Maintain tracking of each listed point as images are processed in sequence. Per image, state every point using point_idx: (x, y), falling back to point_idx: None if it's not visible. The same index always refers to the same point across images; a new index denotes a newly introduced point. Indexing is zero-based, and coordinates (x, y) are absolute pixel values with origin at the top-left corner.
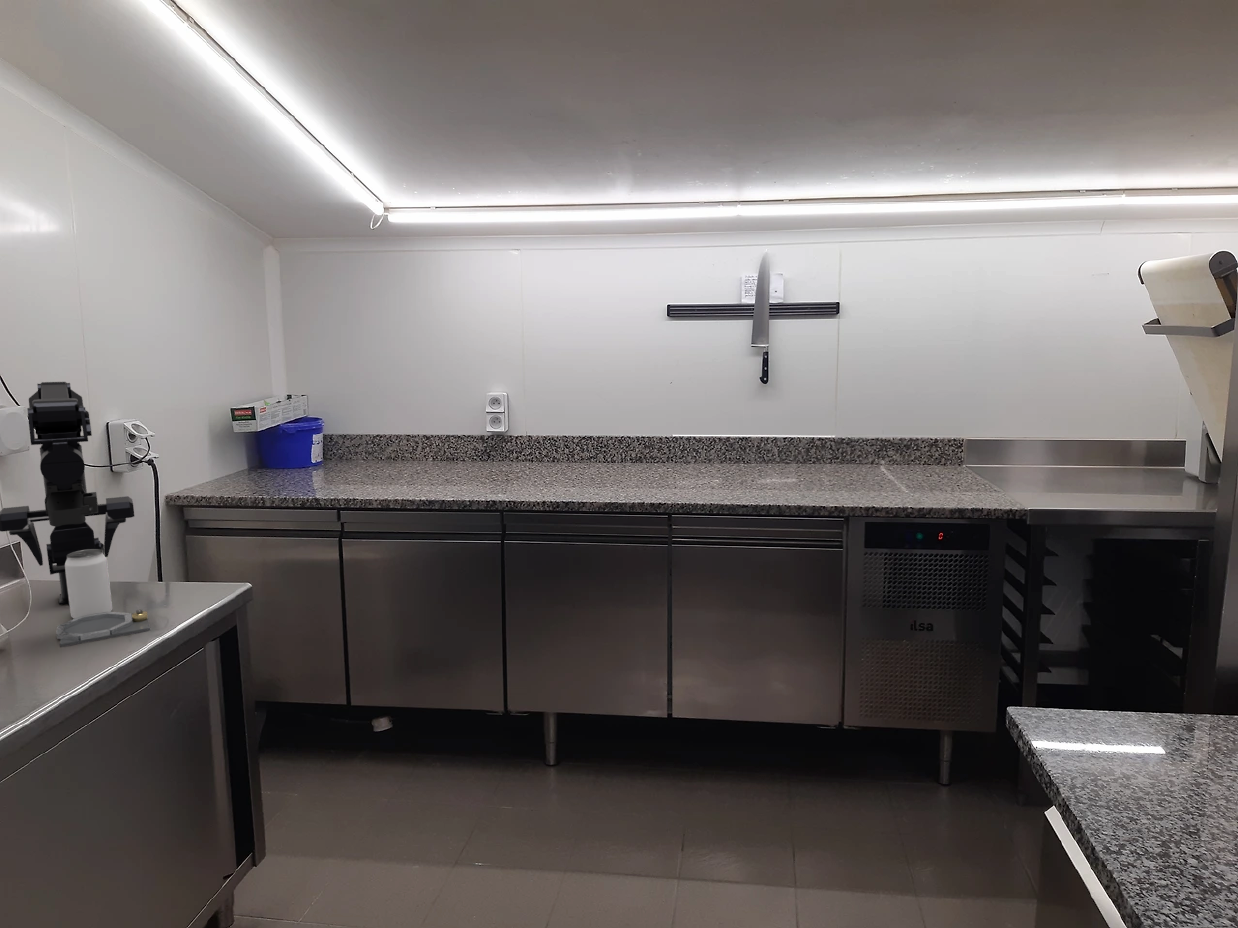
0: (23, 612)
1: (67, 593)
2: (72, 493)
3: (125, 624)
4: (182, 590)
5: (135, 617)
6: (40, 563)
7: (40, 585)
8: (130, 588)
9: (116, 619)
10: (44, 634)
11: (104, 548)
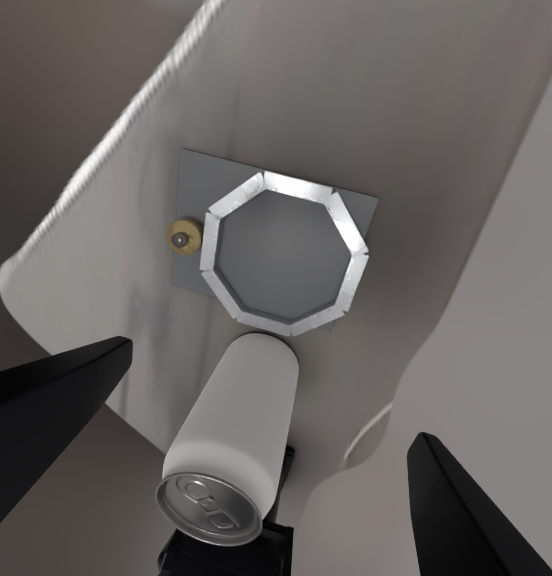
0: (353, 462)
1: None
2: None
3: (223, 197)
4: None
5: (195, 227)
6: (435, 442)
7: None
8: None
9: (232, 277)
10: (370, 317)
11: (89, 362)
